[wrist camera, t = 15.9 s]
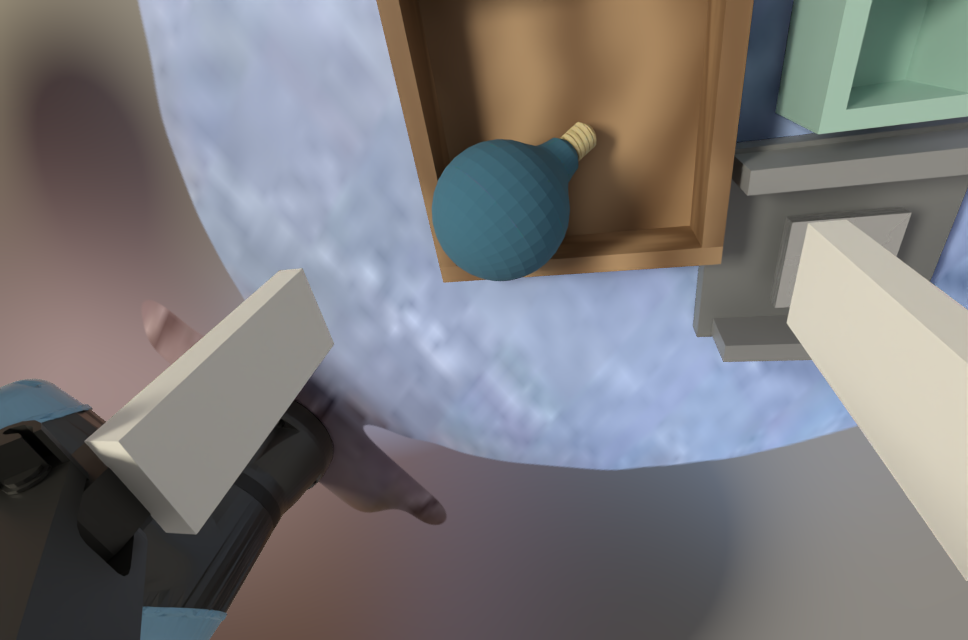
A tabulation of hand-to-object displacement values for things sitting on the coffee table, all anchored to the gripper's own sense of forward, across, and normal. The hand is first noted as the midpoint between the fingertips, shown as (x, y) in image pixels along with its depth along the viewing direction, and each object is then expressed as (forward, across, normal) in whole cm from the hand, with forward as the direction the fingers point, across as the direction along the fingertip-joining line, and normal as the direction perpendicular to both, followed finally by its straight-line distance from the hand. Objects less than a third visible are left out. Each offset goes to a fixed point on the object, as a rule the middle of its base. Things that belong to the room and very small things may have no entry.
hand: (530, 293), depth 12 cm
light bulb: (+20, +2, 0) cm, 20 cm away
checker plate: (+19, +17, -9) cm, 27 cm away
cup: (+22, +17, +3) cm, 27 cm away
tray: (+22, +1, +1) cm, 22 cm away
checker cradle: (+22, +17, -9) cm, 29 cm away
